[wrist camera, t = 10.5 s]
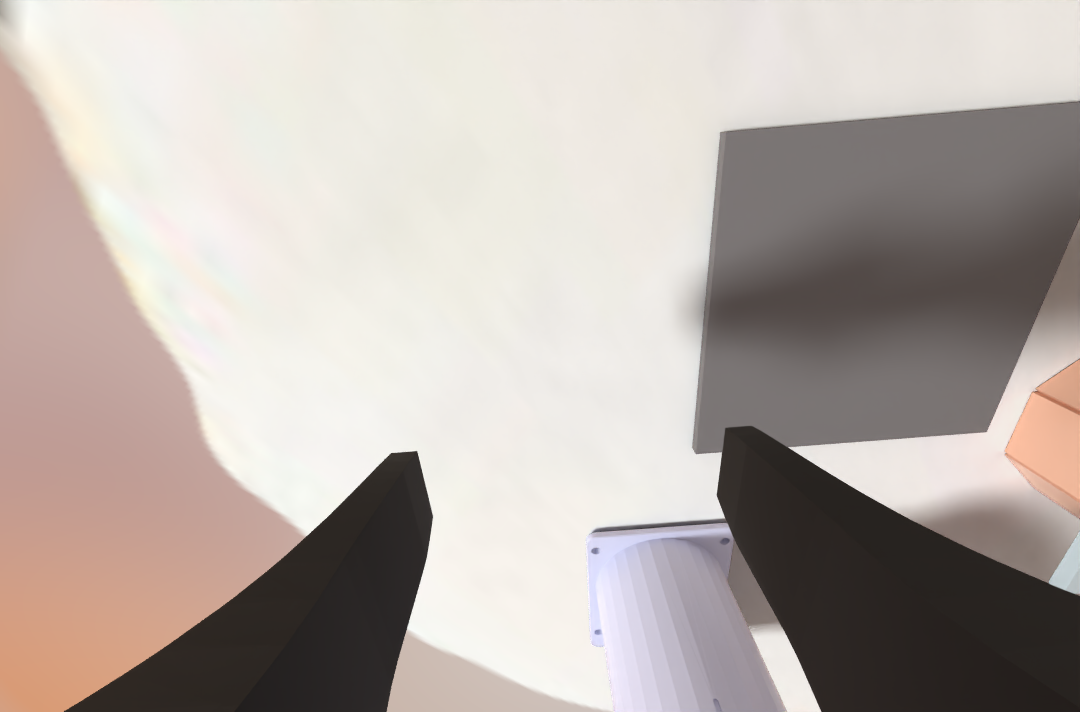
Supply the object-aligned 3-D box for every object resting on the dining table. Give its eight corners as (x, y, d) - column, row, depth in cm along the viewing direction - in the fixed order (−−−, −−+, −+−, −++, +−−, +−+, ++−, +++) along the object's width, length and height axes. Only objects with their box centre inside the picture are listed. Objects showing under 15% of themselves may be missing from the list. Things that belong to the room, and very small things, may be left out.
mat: (977, 426, 22) (986, 432, 21) (692, 447, 22) (695, 453, 21) (1114, 99, 16) (1131, 97, 15) (720, 132, 16) (726, 132, 15)
